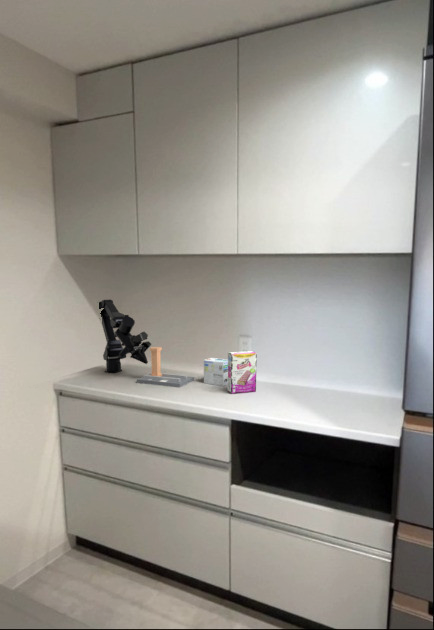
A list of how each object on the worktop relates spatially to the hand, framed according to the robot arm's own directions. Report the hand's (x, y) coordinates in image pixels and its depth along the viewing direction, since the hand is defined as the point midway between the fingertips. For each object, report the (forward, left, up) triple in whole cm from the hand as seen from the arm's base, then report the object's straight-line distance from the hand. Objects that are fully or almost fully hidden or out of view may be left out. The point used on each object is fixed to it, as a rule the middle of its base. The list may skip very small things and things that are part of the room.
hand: (146, 363), depth 200 cm
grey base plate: (+10, 0, -8) cm, 12 cm away
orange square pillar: (+5, 0, -6) cm, 8 cm away
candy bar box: (+48, -3, -8) cm, 49 cm away
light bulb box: (+33, +6, -8) cm, 34 cm away
